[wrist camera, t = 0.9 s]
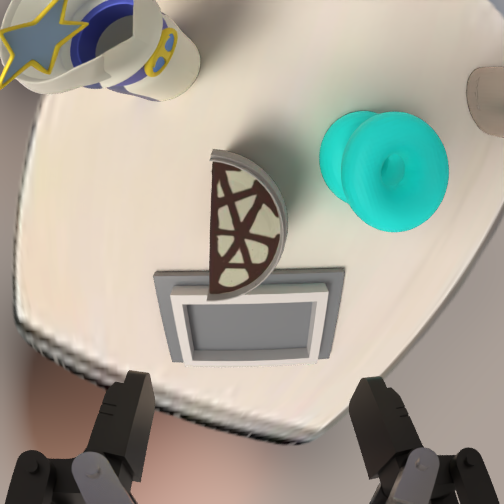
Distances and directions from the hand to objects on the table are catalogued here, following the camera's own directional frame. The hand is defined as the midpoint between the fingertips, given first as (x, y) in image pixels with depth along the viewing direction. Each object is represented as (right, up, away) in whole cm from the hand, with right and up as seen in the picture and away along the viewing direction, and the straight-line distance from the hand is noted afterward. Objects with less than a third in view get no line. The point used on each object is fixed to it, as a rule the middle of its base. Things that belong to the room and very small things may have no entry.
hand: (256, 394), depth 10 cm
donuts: (+11, +15, +19) cm, 27 cm away
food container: (-1, +11, +21) cm, 23 cm away
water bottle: (-9, +24, +14) cm, 29 cm away
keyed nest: (0, -3, +27) cm, 27 cm away
